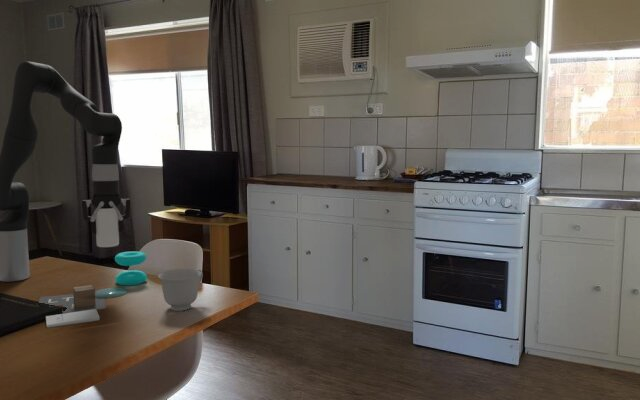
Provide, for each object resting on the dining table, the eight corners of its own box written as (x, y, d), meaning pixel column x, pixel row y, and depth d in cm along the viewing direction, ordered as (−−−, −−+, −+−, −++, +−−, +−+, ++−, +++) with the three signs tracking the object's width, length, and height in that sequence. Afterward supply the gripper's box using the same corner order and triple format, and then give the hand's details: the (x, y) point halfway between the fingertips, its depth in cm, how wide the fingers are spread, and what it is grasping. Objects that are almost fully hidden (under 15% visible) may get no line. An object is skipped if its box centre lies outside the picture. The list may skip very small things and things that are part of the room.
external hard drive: (99, 322, 136) (46, 330, 130) (96, 313, 143) (45, 321, 137) (99, 316, 136) (46, 324, 130) (96, 308, 143) (45, 315, 137)
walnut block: (73, 304, 149) (73, 287, 149) (92, 301, 152) (91, 284, 152) (76, 308, 145) (75, 291, 145) (95, 305, 148) (94, 288, 148)
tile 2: (64, 302, 152) (64, 301, 152) (105, 298, 156) (104, 297, 156) (62, 313, 142) (62, 313, 142) (105, 309, 146) (105, 308, 146)
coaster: (92, 291, 163) (92, 289, 163) (126, 288, 167) (126, 286, 167) (92, 300, 154) (92, 298, 154) (127, 296, 158) (127, 294, 158)
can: (123, 244, 162) (121, 206, 161) (112, 248, 156) (111, 208, 154) (103, 243, 163) (102, 205, 161) (92, 247, 156) (90, 208, 155)
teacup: (217, 303, 152) (217, 269, 151) (182, 317, 139) (181, 281, 138) (186, 297, 158) (186, 265, 157) (149, 310, 145) (148, 275, 144)
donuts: (115, 257, 167) (113, 251, 176) (116, 287, 168) (114, 280, 177) (148, 255, 171) (144, 249, 180) (148, 284, 172) (145, 277, 181)
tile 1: (40, 297, 156) (40, 297, 156) (80, 293, 161) (80, 293, 161) (36, 308, 146) (36, 307, 146) (79, 303, 150) (79, 303, 150)
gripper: (129, 177, 163) (131, 229, 165) (79, 178, 158) (82, 232, 159) (131, 179, 156) (132, 233, 158) (79, 180, 151) (81, 236, 152)
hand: (107, 232), depth 159 cm, fingers closed on can, 6 cm apart
